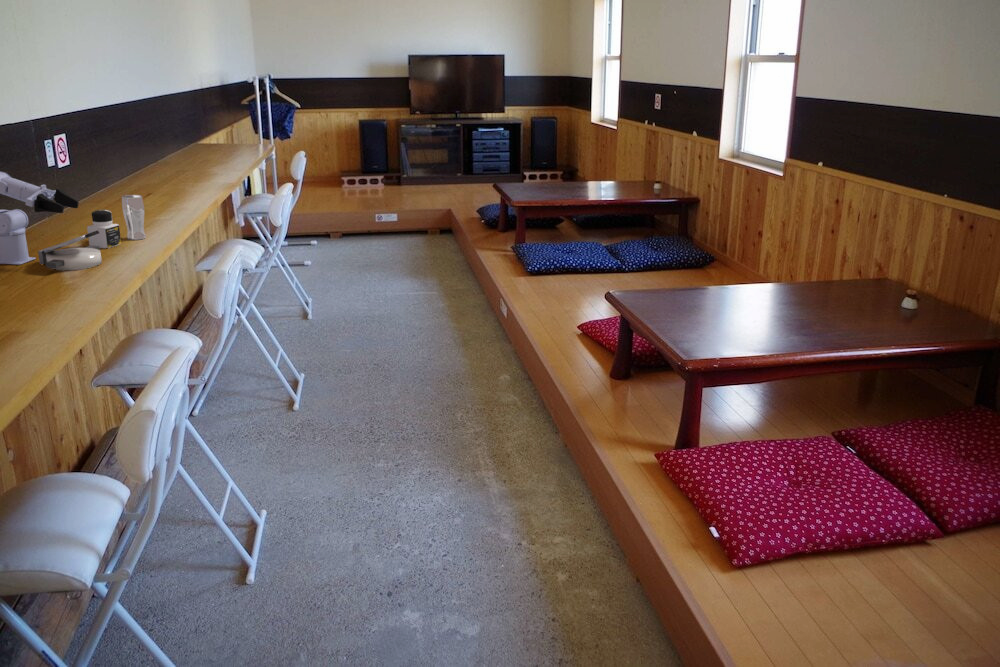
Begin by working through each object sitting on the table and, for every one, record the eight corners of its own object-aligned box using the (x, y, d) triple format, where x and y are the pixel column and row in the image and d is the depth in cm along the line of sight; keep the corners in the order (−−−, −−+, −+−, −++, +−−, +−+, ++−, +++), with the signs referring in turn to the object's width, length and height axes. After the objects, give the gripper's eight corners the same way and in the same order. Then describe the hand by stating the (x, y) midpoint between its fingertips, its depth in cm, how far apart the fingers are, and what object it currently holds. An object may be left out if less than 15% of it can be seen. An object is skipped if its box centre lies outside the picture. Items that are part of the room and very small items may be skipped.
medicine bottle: (108, 248, 265) (103, 213, 261) (89, 247, 266) (84, 211, 262) (121, 244, 272) (117, 209, 268) (103, 242, 273) (98, 208, 269)
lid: (33, 257, 237) (31, 254, 237) (63, 246, 252) (61, 243, 251) (81, 240, 234) (79, 236, 234) (109, 229, 248) (107, 226, 248)
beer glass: (121, 238, 279) (116, 196, 274) (136, 235, 285) (132, 193, 280) (136, 241, 277) (131, 198, 272) (151, 237, 283) (147, 195, 278)
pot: (22, 271, 235) (19, 257, 233) (68, 253, 257) (66, 241, 255) (76, 275, 234) (74, 261, 232) (118, 257, 255) (116, 244, 254)
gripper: (12, 183, 230) (57, 199, 230) (43, 176, 243) (85, 190, 244) (10, 206, 232) (54, 221, 233) (40, 197, 246) (82, 212, 246)
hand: (70, 207), depth 238 cm, fingers open, 7 cm apart
